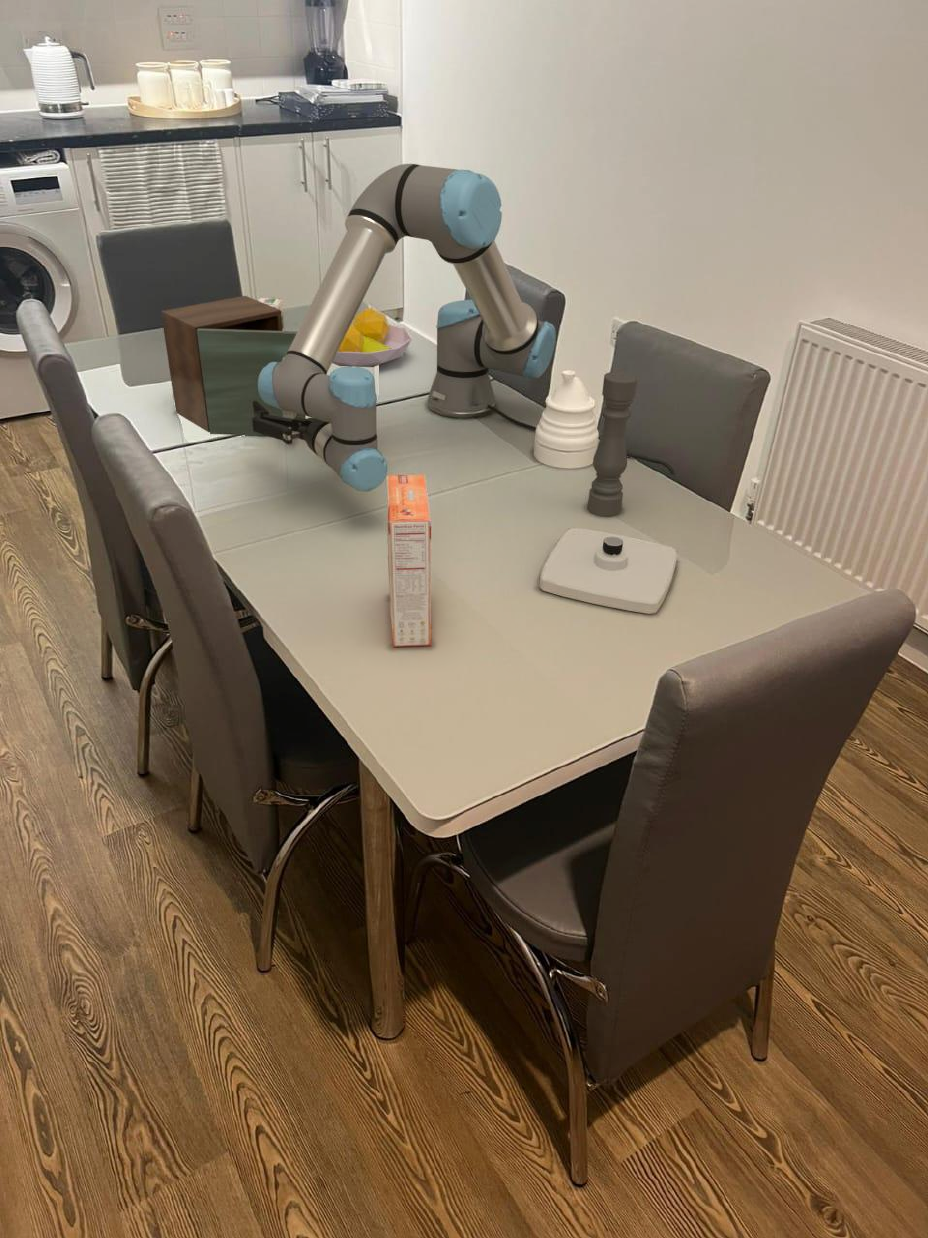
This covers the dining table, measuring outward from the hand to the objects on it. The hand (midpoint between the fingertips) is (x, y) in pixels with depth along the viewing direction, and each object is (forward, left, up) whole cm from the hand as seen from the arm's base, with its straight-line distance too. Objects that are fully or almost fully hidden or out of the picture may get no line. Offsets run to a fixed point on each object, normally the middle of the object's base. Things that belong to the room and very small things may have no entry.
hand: (288, 401), depth 182 cm
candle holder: (-64, +1, -11) cm, 65 cm away
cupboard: (+22, -16, -11) cm, 30 cm away
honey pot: (-52, -20, -11) cm, 57 cm away
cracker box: (-43, +48, -11) cm, 65 cm away
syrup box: (+30, -51, -11) cm, 60 cm away
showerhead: (-69, +24, -11) cm, 74 cm away
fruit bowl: (+11, -60, -11) cm, 62 cm away
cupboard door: (+10, -3, -11) cm, 15 cm away
